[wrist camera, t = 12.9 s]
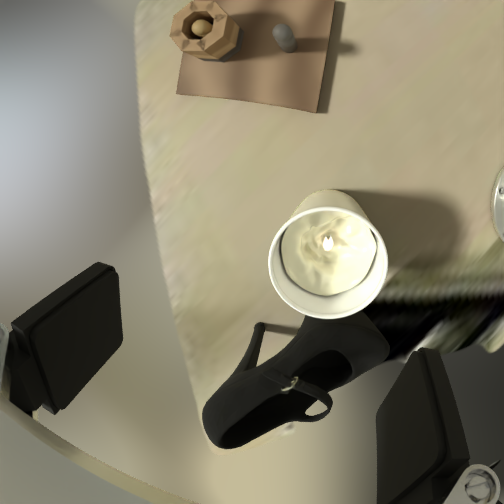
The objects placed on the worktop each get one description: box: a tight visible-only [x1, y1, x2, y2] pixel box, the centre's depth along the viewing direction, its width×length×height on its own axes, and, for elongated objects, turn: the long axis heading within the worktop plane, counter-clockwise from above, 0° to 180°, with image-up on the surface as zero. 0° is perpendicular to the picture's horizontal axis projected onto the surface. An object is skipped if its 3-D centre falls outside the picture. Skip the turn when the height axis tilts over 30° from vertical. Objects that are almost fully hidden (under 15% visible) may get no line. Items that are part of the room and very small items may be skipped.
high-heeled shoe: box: [202, 310, 390, 449], centre depth 32 cm, size 8×19×20 cm, turn 106°
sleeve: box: [170, 1, 244, 63], centre depth 27 cm, size 6×6×6 cm
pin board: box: [176, 0, 335, 113], centre depth 27 cm, size 16×14×7 cm
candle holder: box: [268, 190, 388, 319], centre depth 30 cm, size 10×10×12 cm
